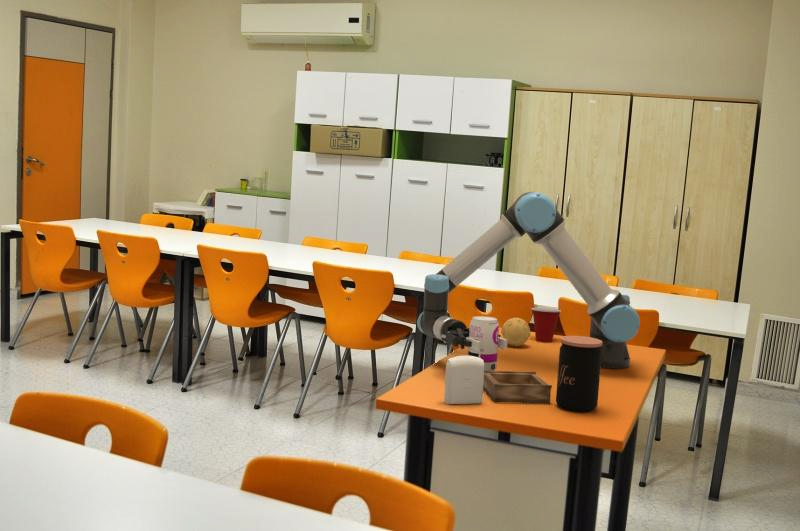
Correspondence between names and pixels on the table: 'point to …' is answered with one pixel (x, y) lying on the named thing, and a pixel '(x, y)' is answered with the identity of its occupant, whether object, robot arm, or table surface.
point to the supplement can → (485, 340)
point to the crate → (516, 387)
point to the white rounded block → (464, 380)
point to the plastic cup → (545, 323)
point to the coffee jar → (578, 373)
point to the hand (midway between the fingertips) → (492, 345)
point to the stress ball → (515, 331)
